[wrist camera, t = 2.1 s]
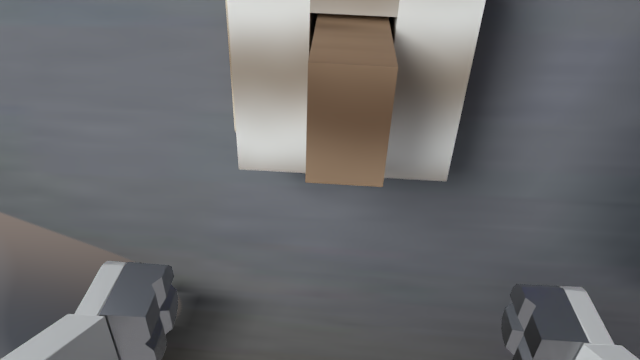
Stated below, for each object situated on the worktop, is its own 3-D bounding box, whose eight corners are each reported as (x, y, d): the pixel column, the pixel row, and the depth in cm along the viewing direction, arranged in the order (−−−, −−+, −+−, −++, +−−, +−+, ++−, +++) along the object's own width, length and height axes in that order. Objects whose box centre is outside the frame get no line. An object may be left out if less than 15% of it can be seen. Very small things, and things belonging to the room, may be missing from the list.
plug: (374, 94, 28) (382, 187, 21) (318, 91, 28) (305, 182, 21) (384, -1, 25) (398, 67, 18) (321, -5, 25) (308, 62, 18)
